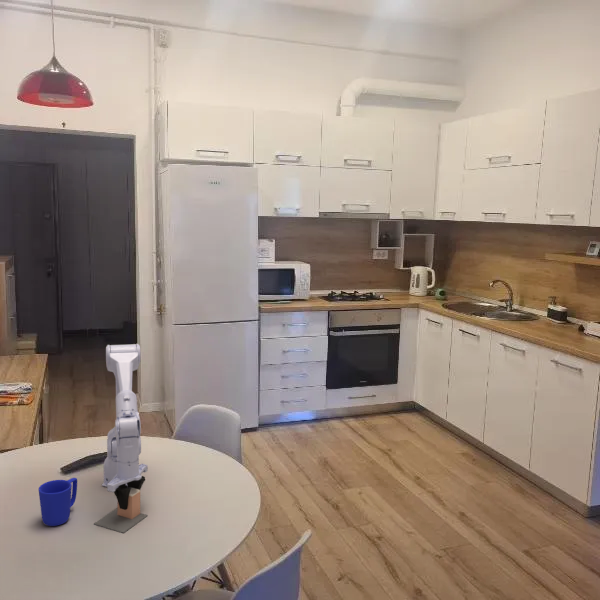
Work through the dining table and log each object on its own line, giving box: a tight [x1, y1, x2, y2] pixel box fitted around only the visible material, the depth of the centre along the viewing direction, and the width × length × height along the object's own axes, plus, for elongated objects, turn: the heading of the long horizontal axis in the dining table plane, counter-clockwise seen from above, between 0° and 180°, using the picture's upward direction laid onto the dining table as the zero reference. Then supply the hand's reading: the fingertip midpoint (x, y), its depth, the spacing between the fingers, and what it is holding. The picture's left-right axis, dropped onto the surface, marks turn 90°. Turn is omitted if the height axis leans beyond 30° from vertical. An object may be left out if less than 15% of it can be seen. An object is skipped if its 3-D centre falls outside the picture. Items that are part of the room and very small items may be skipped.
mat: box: [93, 507, 148, 534], centre depth 160 cm, size 10×10×1 cm
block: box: [116, 487, 141, 519], centre depth 162 cm, size 5×4×7 cm
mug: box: [38, 477, 78, 527], centre depth 159 cm, size 8×12×10 cm
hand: (128, 505), depth 162 cm, fingers closed on block, 3 cm apart
